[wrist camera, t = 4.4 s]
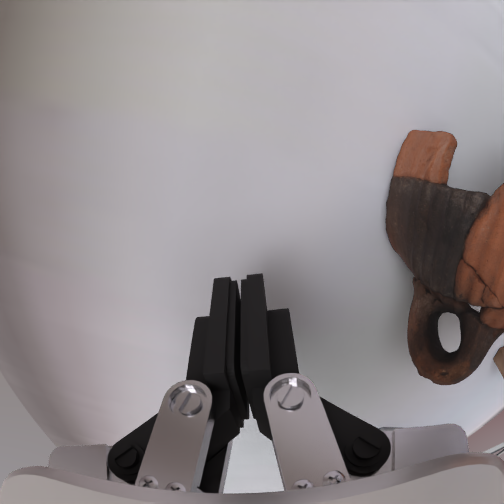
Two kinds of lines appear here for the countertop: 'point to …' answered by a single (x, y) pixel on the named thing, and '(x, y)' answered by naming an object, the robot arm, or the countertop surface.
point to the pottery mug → (446, 256)
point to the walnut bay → (500, 360)
